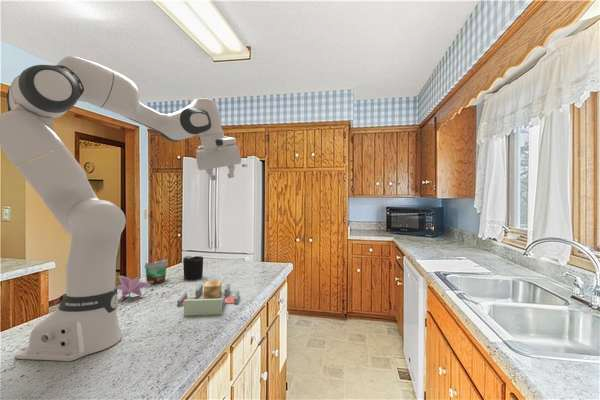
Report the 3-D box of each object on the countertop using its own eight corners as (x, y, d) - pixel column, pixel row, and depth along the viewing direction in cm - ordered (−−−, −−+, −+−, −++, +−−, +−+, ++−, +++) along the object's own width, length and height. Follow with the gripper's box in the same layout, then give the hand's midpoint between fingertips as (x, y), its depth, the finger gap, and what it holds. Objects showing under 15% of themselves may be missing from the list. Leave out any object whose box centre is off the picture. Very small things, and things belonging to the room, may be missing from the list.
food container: (156, 286, 134) (156, 264, 134) (144, 285, 135) (144, 263, 135) (173, 279, 146) (173, 258, 146) (162, 278, 147) (162, 258, 147)
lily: (154, 299, 120) (153, 276, 124) (134, 296, 109) (134, 271, 113) (127, 307, 120) (127, 284, 125) (104, 305, 110) (105, 280, 114)
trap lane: (169, 316, 100) (169, 301, 100) (188, 292, 126) (188, 280, 126) (235, 313, 103) (235, 299, 103) (240, 290, 128) (240, 278, 128)
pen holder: (186, 275, 153) (186, 256, 153) (205, 275, 153) (205, 256, 153) (180, 280, 143) (180, 259, 143) (200, 280, 144) (200, 259, 144)
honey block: (203, 299, 118) (203, 286, 118) (206, 292, 126) (206, 281, 126) (219, 298, 119) (219, 285, 119) (221, 292, 127) (221, 280, 127)
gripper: (188, 148, 115) (197, 183, 118) (227, 139, 105) (236, 178, 107) (201, 146, 121) (209, 179, 123) (239, 138, 110) (247, 174, 113)
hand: (222, 179), depth 115 cm, fingers open, 8 cm apart
